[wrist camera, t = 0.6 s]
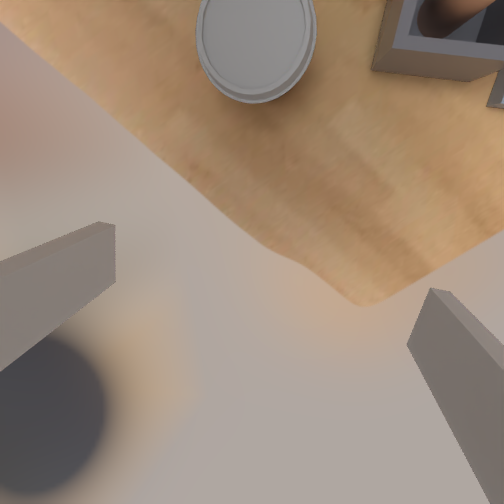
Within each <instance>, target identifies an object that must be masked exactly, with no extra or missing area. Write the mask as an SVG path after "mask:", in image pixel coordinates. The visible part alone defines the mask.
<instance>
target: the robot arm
mask: <svg viewBox="0 0 504 504" xmlns="http://www.w3.org/2000/svg"><path fill="white" fill-rule="evenodd" d="M115 282H116V281H115V225H113V224H108V223H103V222H96V223H94V224H91V225H89V226H86V227H84V228H81V229H79V230H76V231H74V232H72V233H69V234H67V235H64V236H62V237H59V238H57V239H54V240H52V241H49V242H47V243H44V244H42V245H39V246H37V247H35V248H32V249H30V250H28V251H25V252H22V253H20V254H17V255H15V256H13V257H10V258H8V259H5V260H3V261H0V371H1V370H3V369H4V368H5V367H7V366H8V365H9V364H11V363H12V362H13V361H14V360H16V359H17V358H18V357H19V356H21V355H22V354H23V353H25V352H26V351H27V350H29V349H30V348H31V347H32V346H34V345H35V344H36V343H38V342H39V341H40V340H41V339H43V338H44V337H45V336H47V335H48V334H49V333H50V332H52V331H53V330H54V329H56V328H57V327H58V326H59V325H61V324H62V323H63V322H65V321H66V320H67V319H68V318H70V317H71V316H72V315H74V314H75V313H76V312H78V311H79V310H80V309H81V308H83V307H84V306H85V305H87V304H88V303H89V302H90V301H92V300H93V299H94V298H96V297H97V296H98V295H100V294H101V293H102V292H103V291H105V290H106V289H107V288H109V287H110V286H111V285H112V284H114V283H115ZM407 346H408V348H409V350H410V352H411V354H412V356H413V358H414V360H415V362H416V363H417V365H418V367H419V369H420V371H421V373H422V375H423V377H424V379H425V381H426V383H427V384H428V386H429V388H430V390H431V392H432V394H433V396H434V398H435V399H436V401H437V403H438V405H439V407H440V409H441V411H442V413H443V415H444V417H445V419H446V421H447V423H448V424H449V426H450V428H451V430H452V432H453V434H454V436H455V438H456V440H457V441H458V443H459V445H460V447H461V449H462V451H463V453H464V455H465V457H466V459H467V461H468V462H469V464H470V466H471V468H472V470H473V472H474V474H475V476H476V478H477V479H478V481H479V483H480V485H481V487H482V489H483V491H484V493H485V495H486V497H487V498H488V501H489V502H490V504H504V345H503V344H502V343H501V342H500V341H499V340H498V339H497V338H496V337H495V336H494V335H493V334H492V333H491V332H490V331H489V330H488V329H487V328H486V327H485V326H484V325H483V324H482V323H481V322H480V321H479V320H478V319H477V318H476V317H475V316H474V315H473V314H472V313H471V312H470V311H469V310H468V309H467V308H466V307H465V306H464V305H463V304H462V303H461V302H460V301H459V300H458V299H457V298H456V297H455V296H454V295H453V294H452V293H451V292H449V291H444V290H439V289H434V288H430V289H429V292H428V294H427V296H426V299H425V301H424V304H423V306H422V309H421V311H420V313H419V316H418V319H417V321H416V323H415V325H414V328H413V330H412V333H411V335H410V338H409V340H408V342H407Z"/></svg>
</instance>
